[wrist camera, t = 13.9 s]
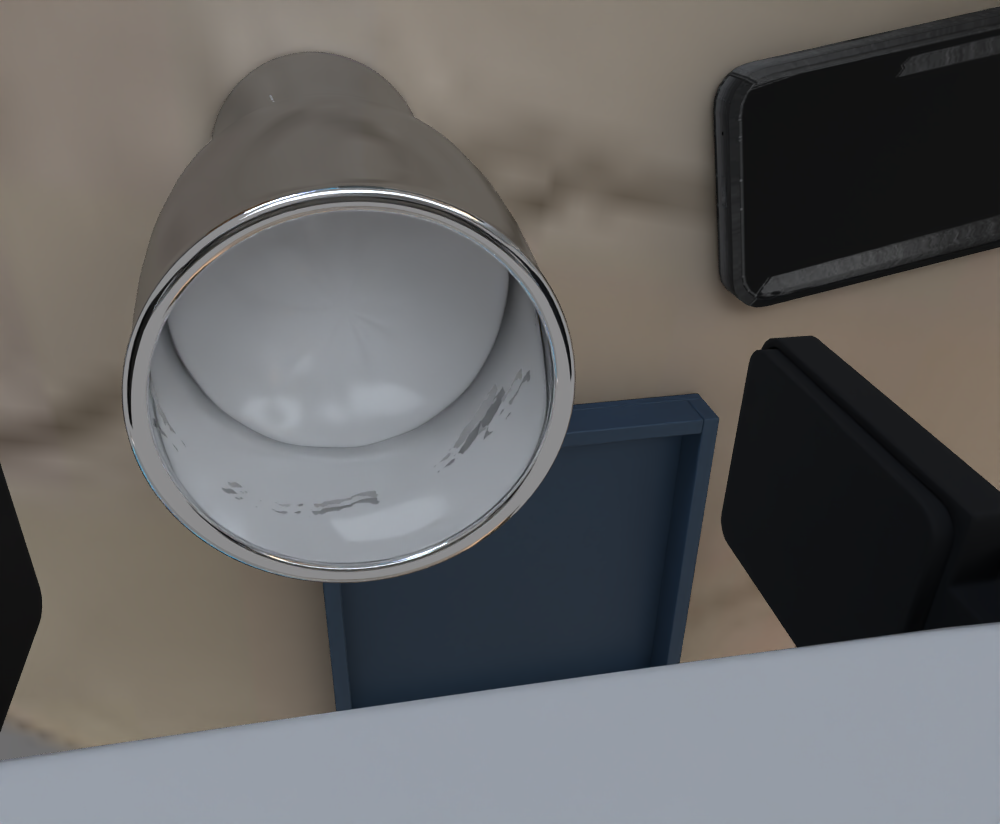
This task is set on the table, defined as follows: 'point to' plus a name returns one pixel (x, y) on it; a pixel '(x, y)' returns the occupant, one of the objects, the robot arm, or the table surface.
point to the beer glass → (341, 337)
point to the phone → (859, 159)
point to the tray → (547, 571)
